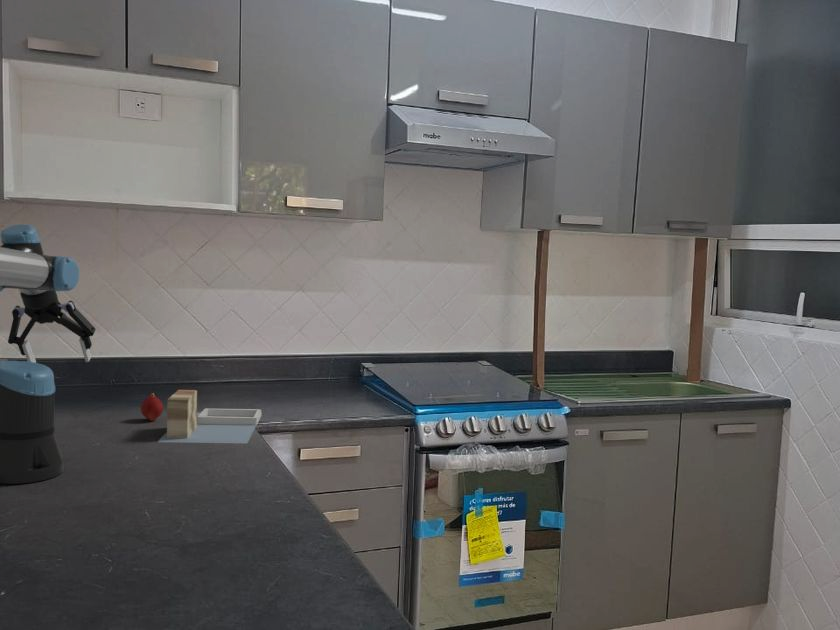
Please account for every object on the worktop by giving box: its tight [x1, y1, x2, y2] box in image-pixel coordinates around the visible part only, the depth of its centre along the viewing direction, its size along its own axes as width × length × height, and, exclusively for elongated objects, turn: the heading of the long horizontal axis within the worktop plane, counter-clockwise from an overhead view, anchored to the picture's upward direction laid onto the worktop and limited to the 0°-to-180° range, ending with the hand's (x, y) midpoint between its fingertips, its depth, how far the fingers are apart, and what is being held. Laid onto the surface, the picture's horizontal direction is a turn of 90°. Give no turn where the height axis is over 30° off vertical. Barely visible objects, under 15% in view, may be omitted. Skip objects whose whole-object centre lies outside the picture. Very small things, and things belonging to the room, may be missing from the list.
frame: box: [197, 407, 262, 426], centre depth 214 cm, size 11×16×2 cm
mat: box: [157, 411, 263, 445], centre depth 206 cm, size 34×22×1 cm, turn 5°
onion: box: [140, 392, 164, 422], centre depth 210 cm, size 6×6×8 cm
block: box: [166, 389, 198, 438], centre depth 198 cm, size 12×5×10 cm, turn 5°
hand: (60, 361), depth 192 cm, fingers open, 13 cm apart
